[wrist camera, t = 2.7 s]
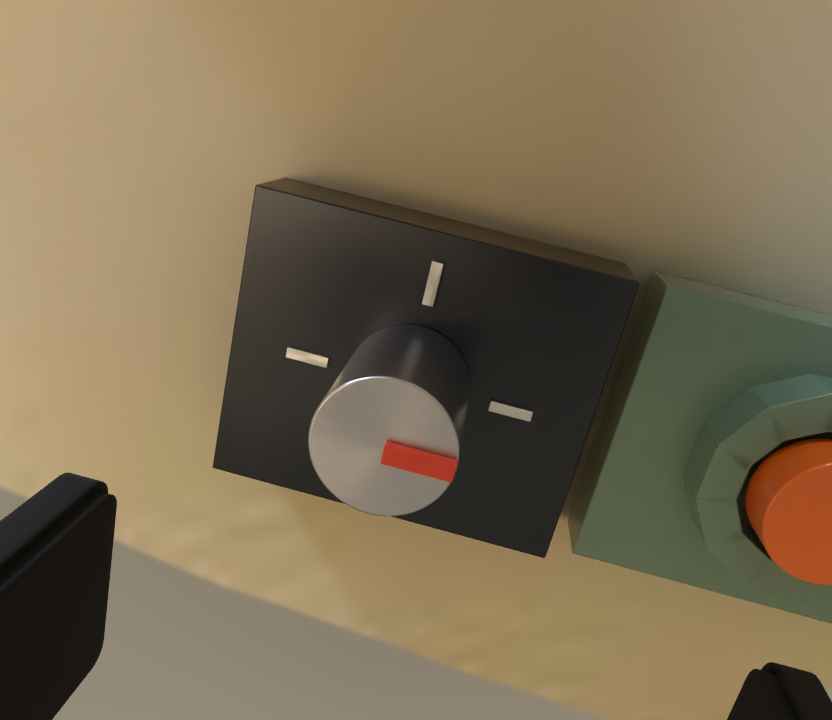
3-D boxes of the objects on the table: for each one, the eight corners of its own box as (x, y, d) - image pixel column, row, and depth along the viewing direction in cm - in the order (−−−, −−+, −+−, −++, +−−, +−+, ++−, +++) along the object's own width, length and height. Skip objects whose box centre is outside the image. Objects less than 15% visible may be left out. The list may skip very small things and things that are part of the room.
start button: (724, 533, 23) (741, 565, 22) (773, 422, 22) (795, 447, 20) (849, 566, 23) (875, 601, 21) (906, 456, 22) (938, 484, 20)
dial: (337, 422, 24) (292, 500, 19) (361, 310, 23) (319, 362, 18) (453, 453, 24) (438, 539, 19) (484, 341, 23) (476, 404, 18)
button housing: (567, 521, 28) (575, 584, 24) (654, 270, 25) (680, 298, 21) (879, 605, 27) (938, 683, 24) (1012, 361, 24) (1105, 406, 20)
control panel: (242, 433, 28) (210, 469, 25) (284, 177, 25) (253, 184, 22) (542, 514, 28) (545, 561, 25) (625, 263, 25) (640, 283, 22)
